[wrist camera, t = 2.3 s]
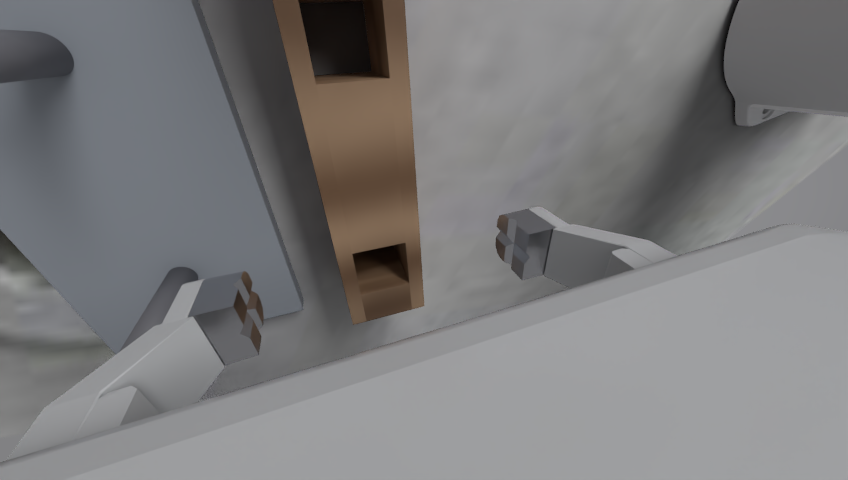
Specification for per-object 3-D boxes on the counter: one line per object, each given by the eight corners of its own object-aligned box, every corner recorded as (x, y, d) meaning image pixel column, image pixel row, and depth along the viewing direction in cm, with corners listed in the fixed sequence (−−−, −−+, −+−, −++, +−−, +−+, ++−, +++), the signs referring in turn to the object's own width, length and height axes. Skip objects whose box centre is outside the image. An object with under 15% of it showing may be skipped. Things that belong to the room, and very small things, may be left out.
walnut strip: (263, -64, 14) (245, -109, 10) (373, -62, 15) (397, -101, 11) (345, 279, 25) (353, 324, 21) (405, 265, 26) (424, 305, 22)
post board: (162, -100, 13) (36, -227, 7) (303, 299, 24) (302, 378, 19) (-274, -119, 10) (-1133, -364, 4) (125, 341, 22) (58, 449, 16)
